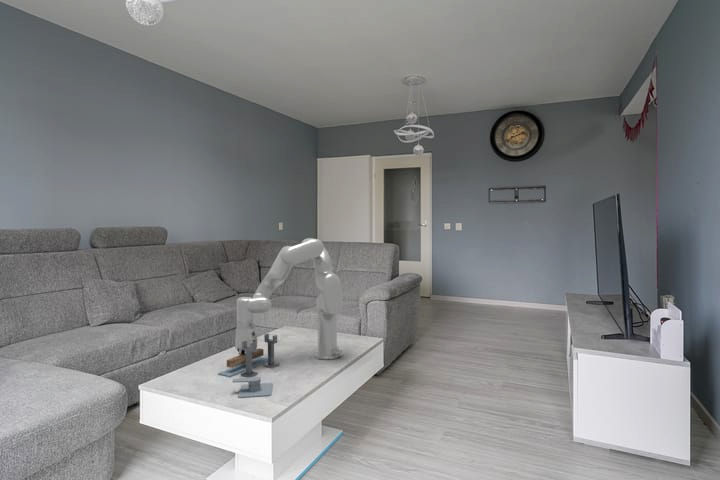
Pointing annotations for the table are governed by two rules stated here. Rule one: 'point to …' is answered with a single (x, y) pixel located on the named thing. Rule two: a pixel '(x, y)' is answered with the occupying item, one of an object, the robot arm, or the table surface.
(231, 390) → the table surface
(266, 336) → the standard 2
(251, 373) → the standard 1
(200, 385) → the table surface
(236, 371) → the mat
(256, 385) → the shower valve
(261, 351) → the rail
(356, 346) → the table surface
